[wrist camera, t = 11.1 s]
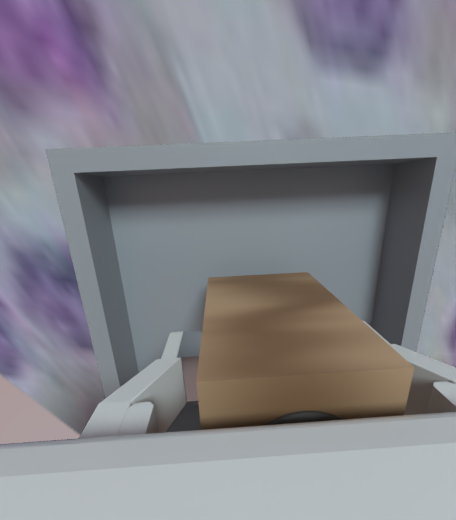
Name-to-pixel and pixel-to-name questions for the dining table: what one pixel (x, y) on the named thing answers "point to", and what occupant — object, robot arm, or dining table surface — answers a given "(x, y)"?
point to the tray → (248, 232)
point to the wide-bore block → (291, 356)
